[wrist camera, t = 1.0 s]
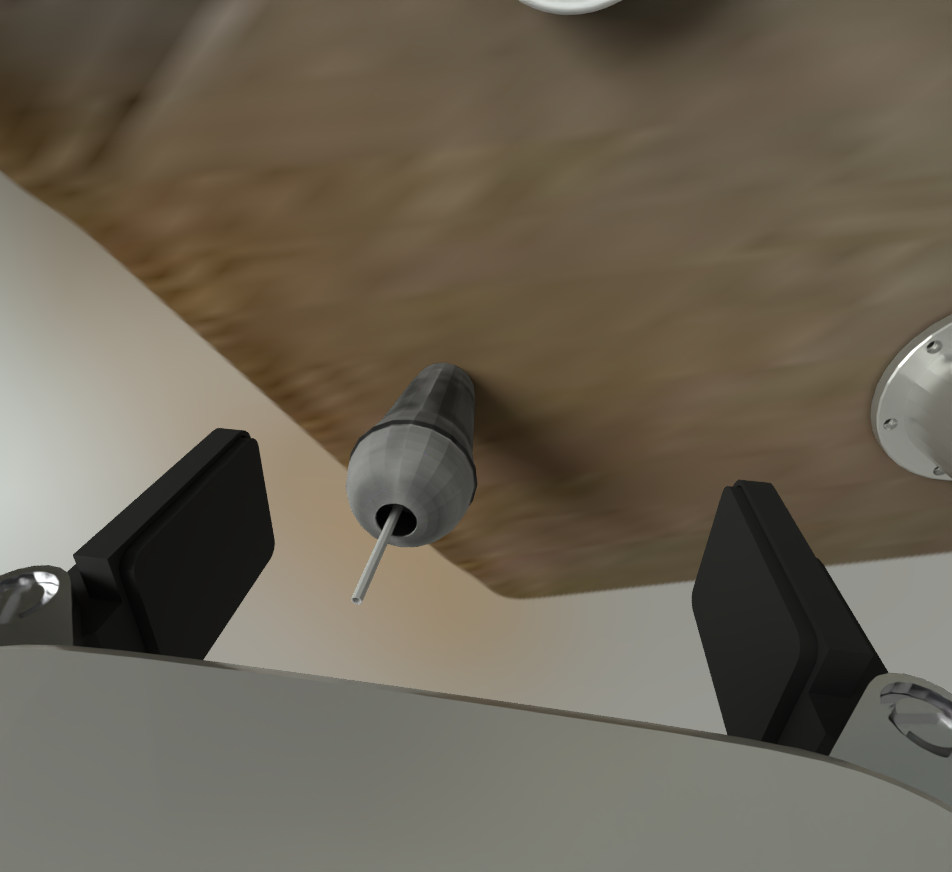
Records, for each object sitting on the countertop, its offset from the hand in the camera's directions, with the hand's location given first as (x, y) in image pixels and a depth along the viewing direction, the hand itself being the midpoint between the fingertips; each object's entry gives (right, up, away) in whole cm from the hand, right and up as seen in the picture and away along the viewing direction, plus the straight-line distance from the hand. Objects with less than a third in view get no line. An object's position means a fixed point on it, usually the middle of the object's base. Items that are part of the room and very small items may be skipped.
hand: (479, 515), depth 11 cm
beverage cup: (-2, +5, +30) cm, 31 cm away
